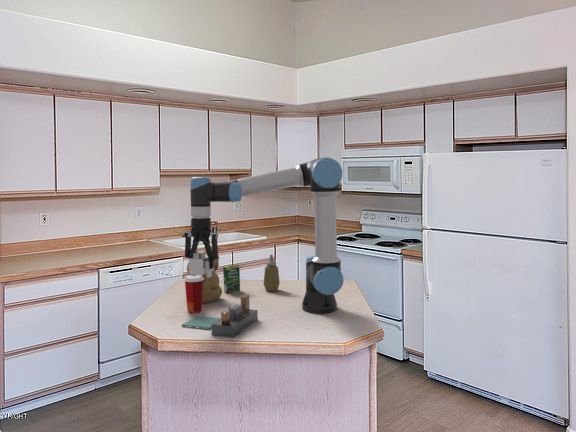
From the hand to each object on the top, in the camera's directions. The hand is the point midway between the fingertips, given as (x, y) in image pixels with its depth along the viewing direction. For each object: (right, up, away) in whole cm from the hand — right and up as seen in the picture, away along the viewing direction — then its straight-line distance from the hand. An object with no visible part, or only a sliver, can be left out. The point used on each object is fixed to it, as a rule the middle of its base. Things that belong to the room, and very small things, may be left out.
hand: (201, 276), depth 189 cm
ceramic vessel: (-6, -16, +37) cm, 40 cm away
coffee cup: (-6, -17, +19) cm, 27 cm away
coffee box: (+6, -14, +52) cm, 54 cm away
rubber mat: (0, -19, +2) cm, 19 cm away
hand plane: (+14, -19, -3) cm, 24 cm away
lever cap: (0, +2, 0) cm, 2 cm away
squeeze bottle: (+26, -14, +53) cm, 61 cm away
